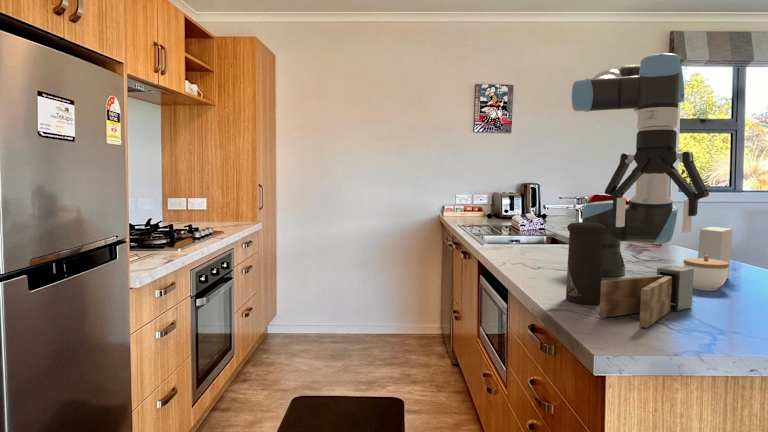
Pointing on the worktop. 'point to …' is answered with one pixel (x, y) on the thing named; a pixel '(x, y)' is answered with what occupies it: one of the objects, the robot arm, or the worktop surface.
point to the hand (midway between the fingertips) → (651, 229)
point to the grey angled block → (679, 285)
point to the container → (584, 262)
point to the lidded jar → (707, 272)
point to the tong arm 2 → (655, 301)
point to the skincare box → (715, 244)
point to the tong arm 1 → (623, 295)
